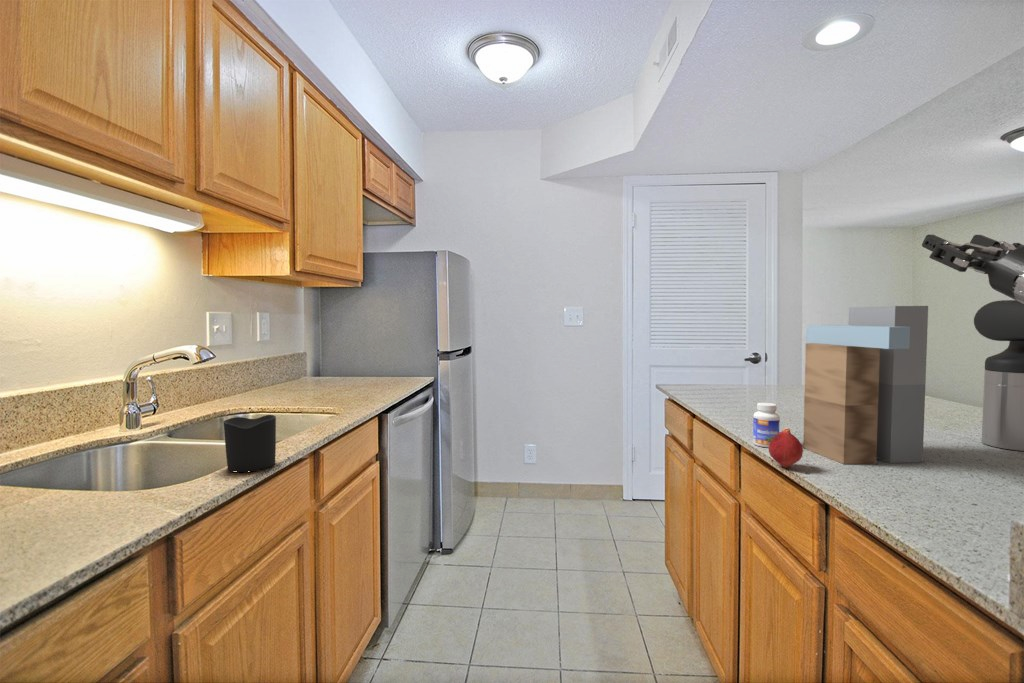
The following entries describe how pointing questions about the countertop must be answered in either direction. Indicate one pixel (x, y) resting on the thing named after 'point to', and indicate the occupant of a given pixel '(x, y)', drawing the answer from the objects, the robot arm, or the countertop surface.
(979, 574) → the countertop surface
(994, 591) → the countertop surface
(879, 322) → the block
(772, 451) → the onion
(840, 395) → the block
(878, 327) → the beam
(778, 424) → the pill bottle
